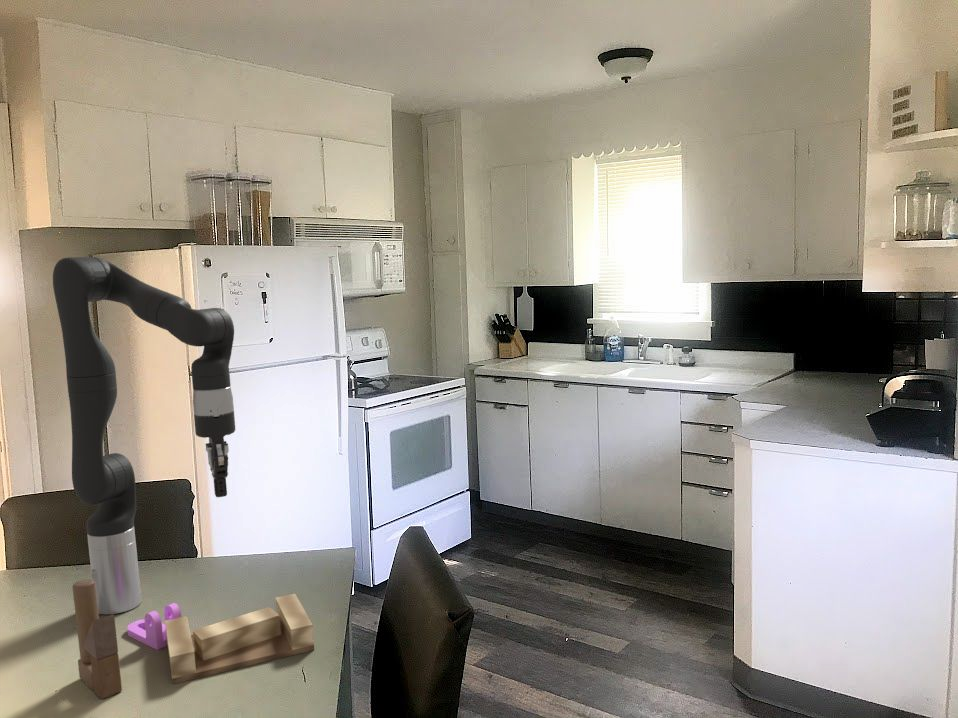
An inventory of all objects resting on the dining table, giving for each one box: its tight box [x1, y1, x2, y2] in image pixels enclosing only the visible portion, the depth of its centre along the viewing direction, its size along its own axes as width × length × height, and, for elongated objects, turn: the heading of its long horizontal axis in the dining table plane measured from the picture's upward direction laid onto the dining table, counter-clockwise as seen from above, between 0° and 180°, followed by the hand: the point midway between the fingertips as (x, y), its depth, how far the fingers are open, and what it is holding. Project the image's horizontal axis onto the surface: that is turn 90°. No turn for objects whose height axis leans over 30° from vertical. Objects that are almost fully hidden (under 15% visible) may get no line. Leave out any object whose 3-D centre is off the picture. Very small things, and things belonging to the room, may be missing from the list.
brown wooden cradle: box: [164, 593, 315, 685], centre depth 151 cm, size 25×16×5 cm, turn 114°
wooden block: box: [72, 578, 123, 700], centre depth 139 cm, size 4×11×18 cm, turn 45°
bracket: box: [126, 602, 183, 651], centre depth 158 cm, size 13×6×7 cm, turn 52°
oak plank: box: [192, 606, 281, 661], centre depth 151 cm, size 15×5×4 cm, turn 127°
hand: (221, 495), depth 158 cm, fingers closed
